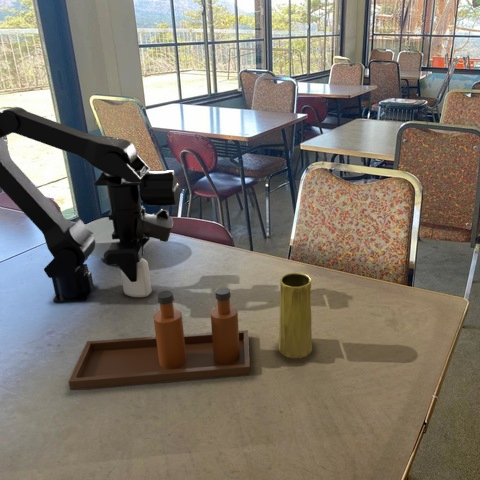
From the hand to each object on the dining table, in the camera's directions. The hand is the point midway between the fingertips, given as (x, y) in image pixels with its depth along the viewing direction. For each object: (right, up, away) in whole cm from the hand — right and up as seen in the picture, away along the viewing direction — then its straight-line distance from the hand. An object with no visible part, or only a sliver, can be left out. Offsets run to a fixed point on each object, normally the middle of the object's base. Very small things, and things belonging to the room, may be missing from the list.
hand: (136, 275), depth 101 cm
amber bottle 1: (+14, -13, -19) cm, 27 cm away
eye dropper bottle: (0, -4, +2) cm, 5 cm away
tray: (+13, -13, -19) cm, 27 cm away
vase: (+34, -12, -15) cm, 39 cm away
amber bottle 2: (+23, -13, -18) cm, 31 cm away
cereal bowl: (-12, +4, +20) cm, 23 cm away
